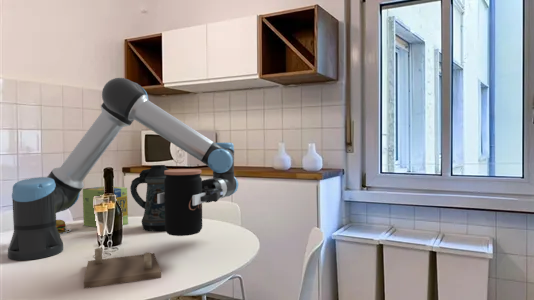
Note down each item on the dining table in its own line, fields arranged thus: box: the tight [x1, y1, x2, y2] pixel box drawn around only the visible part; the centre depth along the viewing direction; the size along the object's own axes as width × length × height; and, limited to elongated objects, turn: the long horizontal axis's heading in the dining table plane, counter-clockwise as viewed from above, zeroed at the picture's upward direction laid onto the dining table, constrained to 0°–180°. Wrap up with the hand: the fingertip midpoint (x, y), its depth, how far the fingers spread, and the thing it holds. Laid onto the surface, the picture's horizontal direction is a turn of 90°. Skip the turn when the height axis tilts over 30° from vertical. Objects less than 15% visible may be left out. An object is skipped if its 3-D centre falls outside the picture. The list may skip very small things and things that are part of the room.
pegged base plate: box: [83, 247, 162, 289], centre depth 107 cm, size 18×18×6 cm
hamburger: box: [56, 219, 72, 235], centre depth 154 cm, size 12×12×6 cm
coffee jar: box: [164, 168, 203, 237], centre depth 115 cm, size 11×11×18 cm
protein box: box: [82, 186, 129, 228], centre depth 166 cm, size 10×15×16 cm
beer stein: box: [129, 164, 170, 233], centre depth 158 cm, size 16×19×25 cm
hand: (175, 199), depth 111 cm, fingers closed on coffee jar, 11 cm apart
